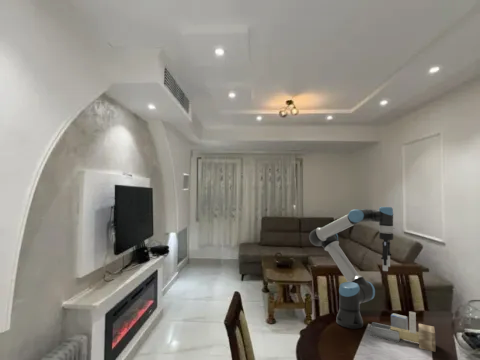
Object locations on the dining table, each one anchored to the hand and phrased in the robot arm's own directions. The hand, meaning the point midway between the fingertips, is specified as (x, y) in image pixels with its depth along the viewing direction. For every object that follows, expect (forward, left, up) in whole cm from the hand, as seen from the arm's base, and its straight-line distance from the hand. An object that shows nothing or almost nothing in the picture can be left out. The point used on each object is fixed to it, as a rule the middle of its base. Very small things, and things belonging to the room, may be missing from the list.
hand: (386, 268), depth 174 cm
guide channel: (0, -13, -34) cm, 37 cm away
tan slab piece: (+12, -13, -33) cm, 37 cm away
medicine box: (+6, -1, -35) cm, 35 cm away
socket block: (+19, -13, -34) cm, 41 cm away
